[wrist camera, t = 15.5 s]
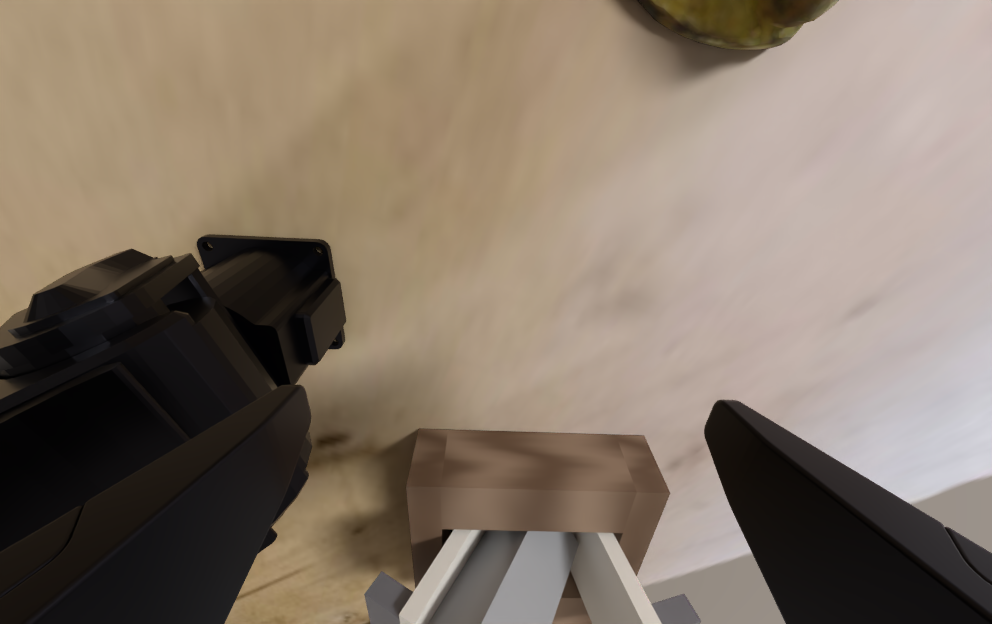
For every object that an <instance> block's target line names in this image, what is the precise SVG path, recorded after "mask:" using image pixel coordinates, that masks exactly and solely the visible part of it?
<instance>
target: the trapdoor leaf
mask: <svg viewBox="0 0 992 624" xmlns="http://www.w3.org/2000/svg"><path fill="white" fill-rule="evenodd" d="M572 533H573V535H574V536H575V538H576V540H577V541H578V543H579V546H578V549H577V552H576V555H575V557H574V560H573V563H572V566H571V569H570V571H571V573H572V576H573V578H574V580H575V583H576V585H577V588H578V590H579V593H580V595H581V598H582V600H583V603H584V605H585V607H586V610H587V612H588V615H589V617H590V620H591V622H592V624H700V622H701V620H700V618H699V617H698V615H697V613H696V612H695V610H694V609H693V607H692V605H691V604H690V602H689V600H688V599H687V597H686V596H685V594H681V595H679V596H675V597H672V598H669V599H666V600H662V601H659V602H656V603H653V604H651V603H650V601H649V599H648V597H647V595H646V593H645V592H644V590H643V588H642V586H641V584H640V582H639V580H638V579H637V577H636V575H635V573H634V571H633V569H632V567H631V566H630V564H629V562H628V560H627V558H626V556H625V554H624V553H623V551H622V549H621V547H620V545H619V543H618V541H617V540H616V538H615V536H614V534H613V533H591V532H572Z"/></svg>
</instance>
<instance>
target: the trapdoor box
mask: <svg viewBox="0 0 992 624" xmlns="http://www.w3.org/2000/svg"><path fill="white" fill-rule="evenodd" d="M406 492H407V503H408V513H409V524H410V535H411V546H412V557H413V568H414V579H415V589H416V587H417V586H418V584H419V583H420V581H421V580H422V578H423V577H424V575H425V573H426V572H427V570H428V569H429V567H430V566H431V564H432V563H433V561H434V560H435V558H436V556H437V555H438V553H439V552H440V550H441V549H442V547H443V546H444V544H445V543H446V541H447V539H448V538H449V536H450V535H449V529H457V530H502V531H547V532H591V533H613V534H614V536H615V538H616V540H617V541H618V543H619V545H620V547H621V549H622V551H623V553H624V554H625V556H626V558H627V560H628V562H629V564H630V566H631V567H632V569H633V571H634V573H635V575H636V576H637V574H638V571H639V569H640V566H641V564H642V562H643V559H644V557H645V554H646V552H647V549H648V547H649V544H650V542H651V539H652V537H653V534H654V532H655V529H656V527H657V525H658V522H659V520H660V517H661V515H662V512H663V510H664V507H665V505H666V502H667V500H668V497H669V495H670V492H669V490H668V487H667V485H666V483H665V481H664V479H663V476H662V474H661V472H660V470H659V467H658V465H657V463H656V461H655V459H654V456H653V454H652V452H651V450H650V448H649V445H648V443H647V441H646V439H645V437H644V436H636V435H603V434H570V433H537V432H504V431H471V430H438V429H419V431H418V435H417V440H416V444H415V449H414V453H413V457H412V462H411V466H410V471H409V475H408V480H407V484H406ZM552 624H592V622H591V620H590V617H589V615H588V612H587V610H586V607H585V605H584V603H583V600H582V598H581V595H580V593H579V590H578V588H577V585H576V583H575V580H574V578H573V576H572V573H571V571H570V572H569V575H568V578H567V581H566V584H565V587H564V590H563V593H562V596H561V599H560V601H559V604H558V607H557V610H556V613H555V616H554V619H553V622H552Z"/></svg>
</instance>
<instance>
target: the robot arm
mask: <svg viewBox="0 0 992 624" xmlns="http://www.w3.org/2000/svg"><path fill="white" fill-rule="evenodd" d="M207 242H209V243H210V244H211V245H212V246H213V248H211V247H209V246H208V244H207ZM197 247H198V250H199V253H200V256H201V259H202V262H203V265H204V268H205V269H204V270H203V271H201V272H200V271H199V269H198V267H199V266H200V265H199V264H198V262H197V261H196V260H195V258H194V257H193V255H192V254H191V253H189V254H185V255H182V256H179V257H175V258H173V257H172V255H170V256H166V257H162V258H157V257H155V258H153V257H150V256H148V255H146V254H143V253H141V252H139V251H136V250H134V249H129V250H126V251H122V252H119V253H116V254H114V255H111V256H109V257H106V258H104V259H101V260H99V261H97V262H94V263H92V264H89V265H87V266H84V267H82V268H80V269H77V270H75V271H73V272H71V273H69V274H67V275H65V276H63V277H61V278H60V279H58V280H56V281H55V282H53V283H51V284H50V285H48V286H46V287H45V288H43V289H41V290H40V291H38V292H36V293H35V294H33V296H32V299H31V302H30V304H29V307H28V308H27V309H24V310H22V311H20V312H18V313H16V314H14V315H13V316H12V317H11V318H10V319H9V320H7V321H6V322H5V323H4V324H3V325H2V326H1V327H0V624H224V623H225V621H226V619H227V617H228V615H229V613H230V610H231V608H232V606H233V604H234V602H235V600H236V598H237V596H238V594H239V591H240V589H241V587H242V585H243V583H244V581H245V579H246V577H247V575H248V572H249V570H250V568H251V566H252V564H253V562H254V560H255V558H256V556H257V554H258V553H259V552H260V551H262V550H263V549H265V548H266V547H268V546H269V545H270V544H272V543H273V542H274V541H275V539H276V537H277V533H276V532H275V531H274V530H273V529H272V528H271V527H272V526H273V525H274V524H275V523H276V521H277V520H278V519H279V518H280V517H281V516H282V515H283V513H284V512H285V511H286V510H287V508H288V507H289V506H290V505H291V504H292V502H293V501H294V500H295V499H296V498H297V496H298V494H299V493H300V491H301V490H302V488H303V486H304V485H305V483H306V481H307V479H308V476H309V473H308V471H307V470H306V469H305V468H306V466H307V463H308V460H309V456H310V452H311V449H312V443H311V438H310V433H309V432H308V429H309V426H310V422H311V412H310V408H309V403H308V399H307V395H306V391H305V388H304V387H303V386H301V385H295V384H296V382H297V381H298V380H299V378H300V377H301V375H302V374H303V372H304V371H305V369H306V368H307V367H308V365H316V364H317V363H318V362H319V361H320V360H321V359H322V357H323V356H324V354H325V353H326V351H327V350H328V349H339V348H341V347H342V345H343V344H344V342H345V335H344V329H343V325H344V324H345V322H346V316H345V310H344V303H343V297H342V290H341V284H340V282H339V281H338V280H337V279H336V278H335V273H334V267H333V260H332V254H331V249H330V246H329V245H328V243H327V242H325V241H324V240H320V239H299V238H277V237H255V236H233V235H211V234H209V235H205V236H203V237H201V238H199V239H198V241H197ZM316 247H320V248H321V249H322V250H323V253H319V252H318V251H317V250H316ZM334 339H336V340H338V342H335V341H334ZM704 434H705V439H706V442H707V444H708V447H709V450H710V453H711V456H712V458H713V461H714V464H715V467H716V469H717V472H718V475H719V478H720V481H721V483H722V486H723V489H724V492H725V494H726V497H727V499H728V502H729V504H730V507H731V509H732V511H733V513H734V516H735V518H736V520H737V522H738V524H739V526H740V528H741V530H742V532H743V534H744V537H745V539H746V541H747V543H748V545H749V547H750V549H751V551H752V553H753V555H754V558H755V560H756V562H757V564H758V566H759V568H760V570H761V572H762V574H763V577H764V579H765V581H766V583H767V585H768V587H769V589H770V591H771V593H772V595H773V597H774V600H775V602H776V604H777V606H778V608H779V610H780V612H781V614H782V616H783V619H784V621H785V623H786V624H992V553H990V552H989V551H987V550H986V549H984V548H982V547H980V546H979V545H977V544H975V543H974V542H972V541H970V540H969V539H967V538H965V537H964V536H962V535H960V534H959V533H957V532H955V531H954V530H952V529H951V528H948V527H944V525H943V524H941V523H940V522H939V521H937V520H935V519H934V518H932V517H930V516H929V515H927V514H925V513H924V512H922V511H920V510H919V509H917V508H915V507H914V506H912V505H910V504H909V503H907V502H906V501H904V500H902V499H901V498H899V497H897V496H896V495H894V494H892V493H891V492H889V491H887V490H886V489H884V488H882V487H881V486H879V485H877V484H876V483H874V482H872V481H871V480H869V479H867V478H866V477H864V476H862V475H861V474H859V473H857V472H856V471H854V470H852V469H851V468H849V467H847V466H846V465H844V464H842V463H841V462H839V461H837V460H836V459H834V458H832V457H831V456H829V455H827V454H826V453H824V452H822V451H821V450H819V449H817V448H816V447H814V446H812V445H811V444H809V443H807V442H806V441H804V440H802V439H801V438H799V437H797V436H796V435H794V434H792V433H791V432H789V431H787V430H786V429H784V428H783V427H781V426H779V425H778V424H776V423H774V422H773V421H771V420H769V419H768V418H766V417H764V416H763V415H761V414H759V413H758V412H756V411H754V410H753V409H751V408H749V407H748V406H746V405H744V404H743V403H741V402H739V401H736V400H718V401H717V402H716V403H715V404H714V406H713V408H712V411H711V413H710V415H709V418H708V420H707V422H706V425H705V429H704Z"/></svg>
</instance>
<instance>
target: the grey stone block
mask: <svg viewBox="0 0 992 624" xmlns="http://www.w3.org/2000/svg"><path fill="white" fill-rule="evenodd" d="M578 546H579V543H578V541H577V540H576V538H575V536H574V535H573V533H572V532H547V531H502V530H486V531H485V533H484V534H483V536H482V538H481V539H480V541H479V542H478V544H477V546H476V547H475V549H474V550H473V552H472V554H471V555H470V557H469V558H468V560H467V562H466V563H465V565H464V566H463V568H462V570H461V571H460V573H459V575H458V576H457V578H456V579H455V581H454V583H453V584H452V586H451V587H450V589H449V591H448V592H447V594H446V595H445V597H444V599H443V600H442V602H441V603H440V605H439V607H438V608H437V610H436V612H435V613H434V615H433V616H432V618H431V620H430V621H429V623H428V624H552V622H553V619H554V616H555V613H556V610H557V607H558V604H559V601H560V599H561V596H562V593H563V590H564V587H565V584H566V581H567V578H568V575H569V572H570V569H571V566H572V563H573V560H574V557H575V555H576V552H577V549H578Z"/></svg>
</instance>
